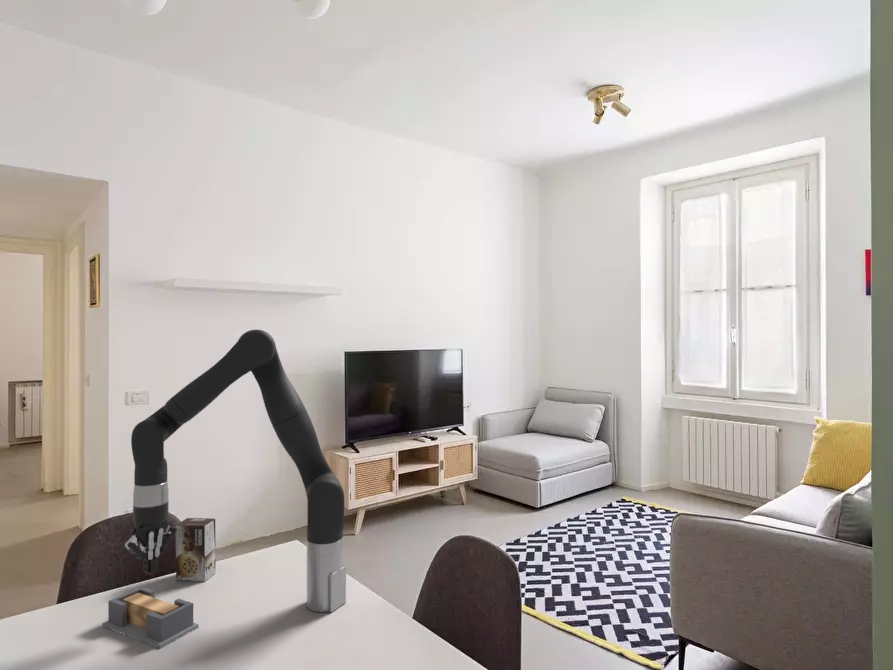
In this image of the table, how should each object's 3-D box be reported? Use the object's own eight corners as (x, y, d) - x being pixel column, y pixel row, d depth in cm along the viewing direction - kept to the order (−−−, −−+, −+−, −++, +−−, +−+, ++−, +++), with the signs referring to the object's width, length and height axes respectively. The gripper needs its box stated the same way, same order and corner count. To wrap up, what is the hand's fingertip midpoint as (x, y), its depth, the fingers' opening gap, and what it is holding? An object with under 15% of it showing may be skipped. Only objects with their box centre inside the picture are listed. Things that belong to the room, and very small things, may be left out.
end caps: (198, 627, 132) (198, 602, 132) (160, 648, 123) (160, 621, 123) (142, 608, 141) (142, 584, 141) (103, 626, 133) (103, 601, 133)
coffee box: (216, 572, 163) (216, 518, 163) (204, 582, 156) (205, 525, 156) (187, 571, 164) (187, 517, 164) (174, 580, 157) (174, 524, 157)
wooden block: (178, 627, 131) (179, 606, 131) (163, 635, 127) (163, 613, 127) (138, 612, 137) (138, 592, 137) (122, 620, 134) (123, 599, 134)
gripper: (134, 511, 125) (134, 587, 125) (185, 496, 137) (185, 565, 137) (114, 506, 128) (113, 580, 128) (165, 492, 140) (165, 560, 140)
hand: (150, 573), depth 132 cm, fingers closed
